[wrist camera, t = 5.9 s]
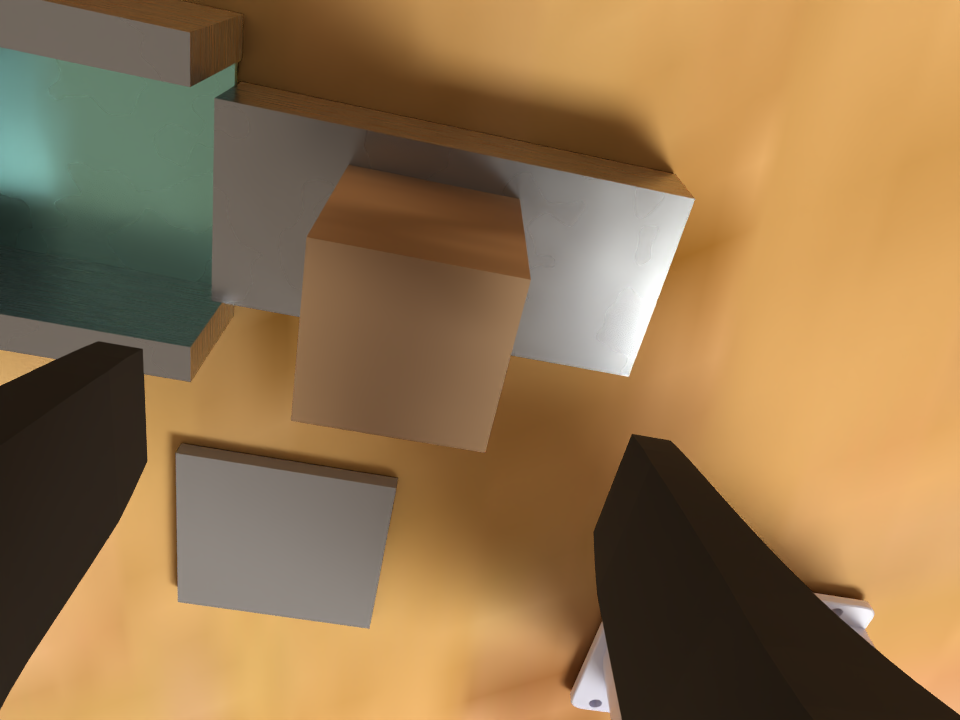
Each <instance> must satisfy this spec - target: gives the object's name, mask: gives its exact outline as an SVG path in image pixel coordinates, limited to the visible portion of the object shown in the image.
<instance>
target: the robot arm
mask: <svg viewBox="0 0 960 720" xmlns="http://www.w3.org/2000/svg"><path fill="white" fill-rule="evenodd" d="M146 463H147V440H146V415H145V390H144V365H143V349H141V348H135V347H130V346H124V345H118V344H112V343H107V342H101V341H97V342H95V343H92V344H90V345H87V346H85V347H83V348H80V349H78V350H76V351H73V352H71V353H69V354H67V355H65V356H63V357H60V358H58V359H56V360H54V361H52V362H50V363H48V364H46V365H43V366H41V367H39V368H37V369H35V370H33V371H31V372H29V373H27V374H25V375H22V376H20V377H18V378H16V379H14V380H12V381H10V382H8V383H5V384H3V385H1V386H0V709H1V707H2V705H3V703H4V701H5V699H6V697H7V696H8V694H9V692H10V690H11V689H12V687H13V685H14V684H15V682H16V680H17V679H18V677H19V675H20V674H21V672H22V670H23V669H24V667H25V665H26V664H27V662H28V660H29V659H30V657H31V655H32V654H33V652H34V651H35V649H36V648H37V646H38V645H39V643H40V642H41V640H42V639H43V637H44V636H45V634H46V633H47V631H48V630H49V628H50V627H51V625H52V623H53V622H54V620H55V619H56V617H57V616H58V614H59V613H60V611H61V610H62V608H63V607H64V605H65V604H66V602H67V601H68V599H69V598H70V596H71V595H72V593H73V592H74V590H75V589H76V587H77V585H78V584H79V582H80V581H81V579H82V578H83V576H84V575H85V573H86V572H87V570H88V569H89V567H90V566H91V564H92V563H93V561H94V559H95V558H96V556H97V555H98V553H99V552H100V550H101V549H102V547H103V546H104V544H105V542H106V541H107V539H108V538H109V536H110V535H111V533H112V531H113V530H114V528H115V527H116V525H117V523H118V522H119V520H120V518H121V516H122V514H123V512H124V510H125V508H126V506H127V504H128V502H129V500H130V498H131V496H132V494H133V491H134V489H135V487H136V485H137V483H138V480H139V478H140V476H141V474H142V472H143V470H144V467H145V465H146ZM594 553H595V571H596V585H597V595H598V601H599V606H600V612H601V617H602V622H601V625H600V627H599V629H598V632H597V634H596V636H595V638H594V641H593V643H592V645H591V647H590V650H589V652H588V654H587V656H586V659H585V661H584V663H583V665H582V668H581V670H580V672H579V675H578V677H577V679H576V681H575V684H574V686H573V688H572V690H571V693H570V698H571V703H572V705H573V706H575V707H577V708H580V709H588V710H595V711H603V712H610V717H611V720H960V715H959V714H958V713H956V712H955V711H954V710H952V709H951V708H950V707H948V706H947V705H946V704H944V703H943V702H942V701H940V700H939V699H938V698H937V697H935V696H934V695H933V694H931V693H930V692H929V691H927V690H926V689H925V688H923V687H922V686H921V685H919V684H918V683H917V682H916V681H914V680H913V679H912V678H911V677H909V676H908V675H907V674H906V673H904V672H903V671H902V670H901V669H899V668H898V667H897V666H896V665H894V664H893V663H892V662H891V661H890V660H888V659H887V658H886V657H885V656H884V655H882V654H881V653H880V652H879V651H878V650H877V649H876V648H875V647H874V645H873V643H872V641H871V639H870V638H869V636H868V634H867V632H866V630H865V628H866V627H867V625H868V624H869V623H870V621H871V620H872V618H873V616H874V611H873V609H872V607H871V605H870V604H869V603H868V602H866V601H863V600H857V599H851V598H844V597H838V596H831V595H825V594H818V593H813V592H812V591H811V590H810V589H809V588H808V587H807V586H806V585H805V584H804V583H803V582H802V581H801V580H800V579H799V578H798V577H797V576H796V575H795V574H794V573H793V572H792V571H791V570H790V569H789V568H788V567H787V566H786V565H785V564H784V563H783V562H782V561H781V560H780V559H779V558H778V557H777V556H776V555H775V554H774V553H773V552H772V551H771V550H770V549H769V548H768V547H767V546H766V544H765V543H764V542H763V541H762V540H761V539H760V538H759V537H758V536H757V535H756V534H755V533H754V532H753V531H752V529H751V528H750V527H749V526H748V525H747V524H746V523H745V522H744V521H743V520H742V519H741V517H740V516H739V515H738V514H737V513H736V512H735V511H734V510H733V509H732V507H731V506H730V505H729V504H728V503H727V502H726V501H725V500H724V498H723V497H722V496H721V495H720V494H719V493H718V492H717V491H716V489H715V488H714V487H713V486H712V485H711V484H710V483H709V482H708V480H707V479H706V478H705V477H704V476H703V475H702V474H701V473H700V471H699V470H698V469H697V468H696V467H695V466H694V465H693V464H692V462H691V461H690V460H689V459H688V458H687V457H686V456H685V455H684V454H683V453H682V452H681V451H680V450H679V449H678V448H677V447H676V446H675V445H674V444H673V443H672V442H671V441H669V440H663V439H657V438H652V437H646V436H640V435H634V434H632V435H631V438H630V441H629V443H628V446H627V448H626V451H625V453H624V456H623V458H622V461H621V463H620V466H619V469H618V471H617V474H616V476H615V479H614V481H613V484H612V486H611V489H610V491H609V494H608V496H607V499H606V502H605V504H604V507H603V509H602V512H601V514H600V517H599V519H598V522H597V524H596V527H595V530H594Z"/></svg>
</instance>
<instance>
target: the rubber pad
mask: <svg viewBox="0 0 960 720" xmlns="http://www.w3.org/2000/svg"><path fill="white" fill-rule="evenodd" d="M397 481H398V478H393V477H387V476H381V475H375V474H369V473H362V472H356V471H350V470H344V469H337V468H331V467H325V466H319V465H313V464H306V463H300V462H294V461H288V460H282V459H275V458H269V457H263V456H257V455H251V454H244V453H238V452H232V451H226V450H220V449H213V448H207V447H201V446H195V445H189V444H182V443H181V445H180V447H179V448H178V450H177V452H176V509H177V574H178V602H182V603H189V604H196V605H203V606H211V607H218V608H225V609H232V610H239V611H246V612H254V613H261V614H268V615H275V616H282V617H290V618H297V619H304V620H311V621H318V622H325V623H333V624H340V625H347V626H354V627H361V628H370V623H371V617H372V612H373V607H374V602H375V597H376V591H377V586H378V581H379V576H380V571H381V565H382V560H383V555H384V550H385V545H386V539H387V534H388V529H389V524H390V519H391V513H392V508H393V503H394V498H395V493H396V487H397Z"/></svg>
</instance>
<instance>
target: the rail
mask: <svg viewBox="0 0 960 720" xmlns="http://www.w3.org/2000/svg"><path fill="white" fill-rule="evenodd" d="M242 44H243V14H240V13H236V12H231V11H227V10H222V9H218V8H213V7H209V6H204V5H200V4H195V3H191V2H186V1H182V0H0V350H5V351H11V352H17V353H23V354H29V355H35V356H41V357H47V358H53V359H58V358H60V357H63V356H65V355H67V354H69V353H71V352H73V351H76V350H78V349H80V348H83V347H85V346H87V345H90V344H92V343H95V342H97V341H101V342H107V343H112V344H118V345H124V346H130V347H135V348H141V349H143V365H144V374H147V375H153V376H158V377H164V378H170V379H176V380H182V381H188V382H191V380H192V379H193V377H194V376H195V374H196V373H197V371H198V370H199V368H200V367H201V365H202V364H203V362H204V361H205V359H206V357H207V356H208V354H209V353H210V351H211V350H212V348H213V347H214V345H215V344H216V342H217V341H218V339H219V337H220V336H221V334H222V333H223V331H224V330H225V328H226V327H227V325H228V324H229V322H230V321H231V319H232V317H233V314H234V305H237V306H242V307H248V308H253V309H259V310H264V311H270V312H275V313H281V314H286V315H292V316H297V317H300V309H301V297H302V285H303V273H304V261H305V250H306V238H307V235H308V234H309V232H310V230H311V229H312V227H313V225H314V223H315V222H316V220H317V218H318V216H319V215H320V213H321V211H322V210H323V208H324V206H325V204H326V203H327V201H328V199H329V197H330V196H331V194H332V192H333V191H334V189H335V187H336V185H337V184H338V182H339V180H340V179H341V177H342V175H343V173H344V172H345V170H346V168H347V166H348V165H353V166H358V167H363V168H368V169H373V170H378V171H383V172H388V173H393V174H398V175H403V176H408V177H413V178H418V179H423V180H428V181H433V182H438V183H443V184H447V185H452V186H457V187H462V188H467V189H472V190H477V191H482V192H487V193H492V194H497V195H502V196H507V197H512V198H517V199H520V203H521V211H522V218H523V226H524V233H525V240H526V248H527V255H528V262H529V270H530V277H531V281H530V285H529V289H528V293H527V296H526V300H525V304H524V308H523V312H522V315H521V319H520V323H519V327H518V330H517V334H516V338H515V342H514V346H513V349H512V353H511V355H512V356H517V357H523V358H528V359H534V360H539V361H545V362H550V363H556V364H561V365H567V366H572V367H578V368H583V369H589V370H595V371H600V372H606V373H611V374H617V375H622V376H628V377H629V375H630V372H631V369H632V367H633V364H634V361H635V358H636V356H637V353H638V350H639V348H640V345H641V342H642V340H643V337H644V334H645V332H646V329H647V326H648V324H649V321H650V318H651V316H652V313H653V310H654V307H655V305H656V302H657V299H658V297H659V294H660V291H661V289H662V286H663V283H664V281H665V278H666V275H667V273H668V270H669V267H670V264H671V262H672V259H673V256H674V254H675V251H676V248H677V246H678V243H679V240H680V238H681V235H682V232H683V230H684V227H685V224H686V222H687V219H688V216H689V213H690V211H691V208H692V205H693V203H694V200H695V198H694V197H693V196H692V195H691V193H690V192H689V191H688V190H687V188H686V187H685V186H684V185H683V183H682V182H681V181H680V179H679V178H678V177H677V176H676V174H673V173H668V172H664V171H659V170H654V169H649V168H645V167H640V166H635V165H631V164H626V163H621V162H617V161H612V160H607V159H603V158H598V157H593V156H588V155H584V154H579V153H574V152H570V151H565V150H560V149H556V148H551V147H546V146H541V145H537V144H532V143H527V142H523V141H518V140H513V139H509V138H504V137H499V136H495V135H490V134H485V133H480V132H476V131H471V130H466V129H462V128H457V127H452V126H448V125H443V124H438V123H433V122H429V121H424V120H419V119H415V118H410V117H405V116H401V115H396V114H391V113H387V112H382V111H377V110H372V109H368V108H363V107H358V106H354V105H349V104H344V103H340V102H335V101H330V100H325V99H321V98H316V97H311V96H307V95H302V94H297V93H293V92H288V91H283V90H279V89H274V88H269V87H264V86H260V85H255V84H250V83H246V82H240V83H238V84H237V66H238V62H239V61H241V60H242Z"/></svg>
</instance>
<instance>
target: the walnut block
mask: <svg viewBox="0 0 960 720" xmlns="http://www.w3.org/2000/svg"><path fill="white" fill-rule="evenodd" d="M530 281H531V277H530V270H529V262H528V255H527V248H526V240H525V233H524V226H523V218H522V211H521V203H520V199H517V198H512V197H507V196H502V195H497V194H492V193H487V192H482V191H477V190H472V189H467V188H462V187H457V186H452V185H447V184H443V183H438V182H433V181H428V180H423V179H418V178H413V177H408V176H403V175H398V174H393V173H388V172H383V171H378V170H373V169H368V168H363V167H358V166H353V165H348V166H347V168H346V170H345V172H344V173H343V175H342V177H341V179H340V180H339V182H338V184H337V185H336V187H335V189H334V191H333V192H332V194H331V196H330V197H329V199H328V201H327V203H326V204H325V206H324V208H323V210H322V211H321V213H320V215H319V216H318V218H317V220H316V222H315V223H314V225H313V227H312V229H311V230H310V232H309V234H308V235H307V238H306V250H305V261H304V273H303V285H302V297H301V309H300V321H299V333H298V344H297V356H296V368H295V380H294V392H293V404H292V415H291V421H295V422H301V423H307V424H313V425H319V426H325V427H332V428H338V429H344V430H350V431H356V432H362V433H368V434H374V435H380V436H386V437H392V438H398V439H404V440H410V441H416V442H423V443H429V444H435V445H441V446H447V447H453V448H459V449H465V450H471V451H477V452H483V453H485V452H486V448H487V444H488V440H489V436H490V433H491V429H492V425H493V421H494V418H495V414H496V410H497V406H498V402H499V399H500V395H501V391H502V387H503V383H504V380H505V376H506V372H507V368H508V365H509V361H510V357H511V353H512V349H513V346H514V342H515V338H516V334H517V330H518V327H519V323H520V319H521V315H522V312H523V308H524V304H525V300H526V296H527V293H528V289H529V285H530Z"/></svg>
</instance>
